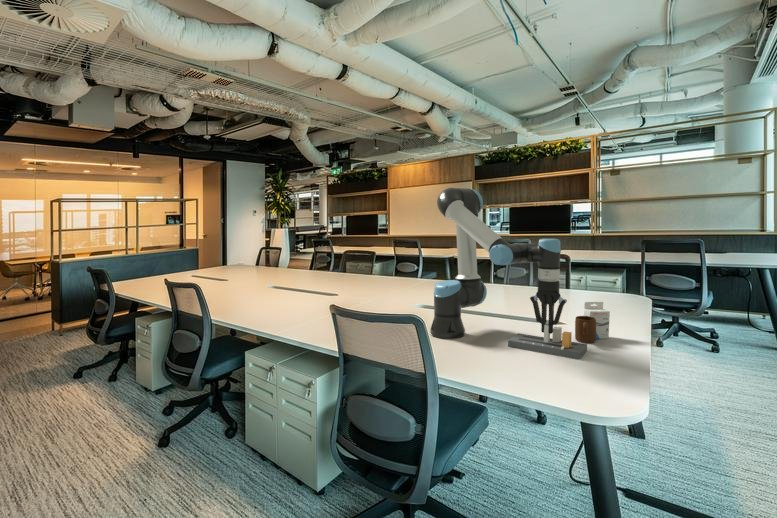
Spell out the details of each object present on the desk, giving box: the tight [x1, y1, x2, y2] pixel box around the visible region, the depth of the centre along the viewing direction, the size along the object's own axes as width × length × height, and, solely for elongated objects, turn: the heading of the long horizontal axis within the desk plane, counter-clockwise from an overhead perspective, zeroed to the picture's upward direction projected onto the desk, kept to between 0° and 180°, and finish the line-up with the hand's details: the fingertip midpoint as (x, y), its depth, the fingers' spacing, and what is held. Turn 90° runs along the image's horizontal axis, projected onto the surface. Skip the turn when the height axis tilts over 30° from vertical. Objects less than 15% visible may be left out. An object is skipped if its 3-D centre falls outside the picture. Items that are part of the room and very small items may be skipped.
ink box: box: [583, 301, 611, 340], centre depth 161 cm, size 8×5×15 cm, turn 92°
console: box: [507, 332, 588, 360], centre depth 148 cm, size 26×12×3 cm, turn 52°
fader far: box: [551, 326, 563, 342], centre depth 148 cm, size 2×4×5 cm, turn 142°
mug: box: [574, 315, 597, 344], centre depth 155 cm, size 12×8×9 cm, turn 152°
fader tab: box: [561, 331, 573, 348], centre depth 142 cm, size 2×4×5 cm, turn 142°
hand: (546, 341), depth 146 cm, fingers closed
